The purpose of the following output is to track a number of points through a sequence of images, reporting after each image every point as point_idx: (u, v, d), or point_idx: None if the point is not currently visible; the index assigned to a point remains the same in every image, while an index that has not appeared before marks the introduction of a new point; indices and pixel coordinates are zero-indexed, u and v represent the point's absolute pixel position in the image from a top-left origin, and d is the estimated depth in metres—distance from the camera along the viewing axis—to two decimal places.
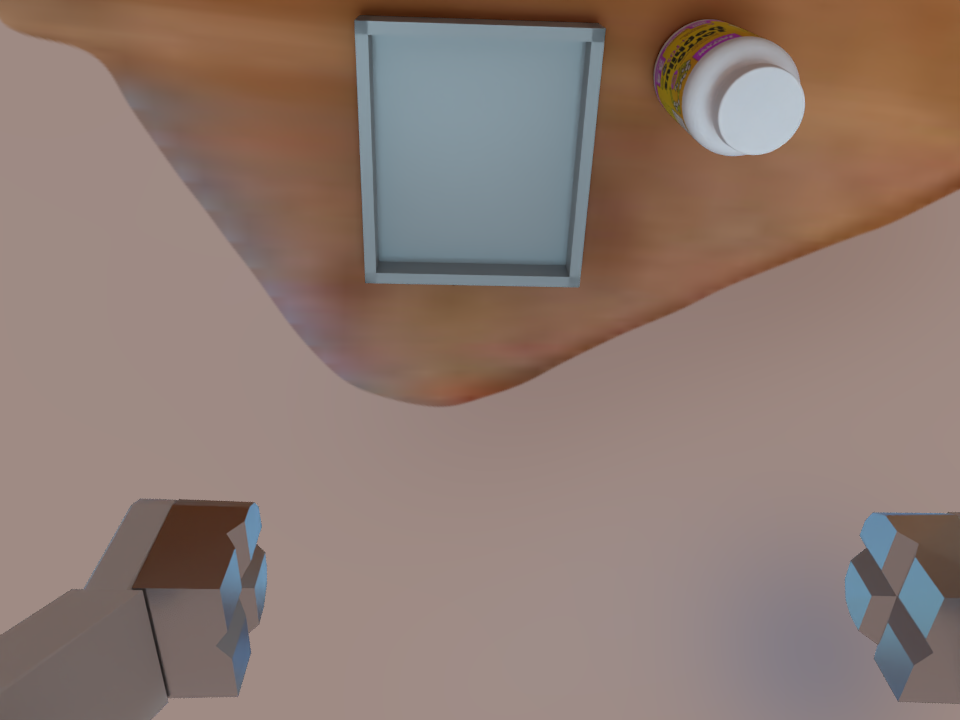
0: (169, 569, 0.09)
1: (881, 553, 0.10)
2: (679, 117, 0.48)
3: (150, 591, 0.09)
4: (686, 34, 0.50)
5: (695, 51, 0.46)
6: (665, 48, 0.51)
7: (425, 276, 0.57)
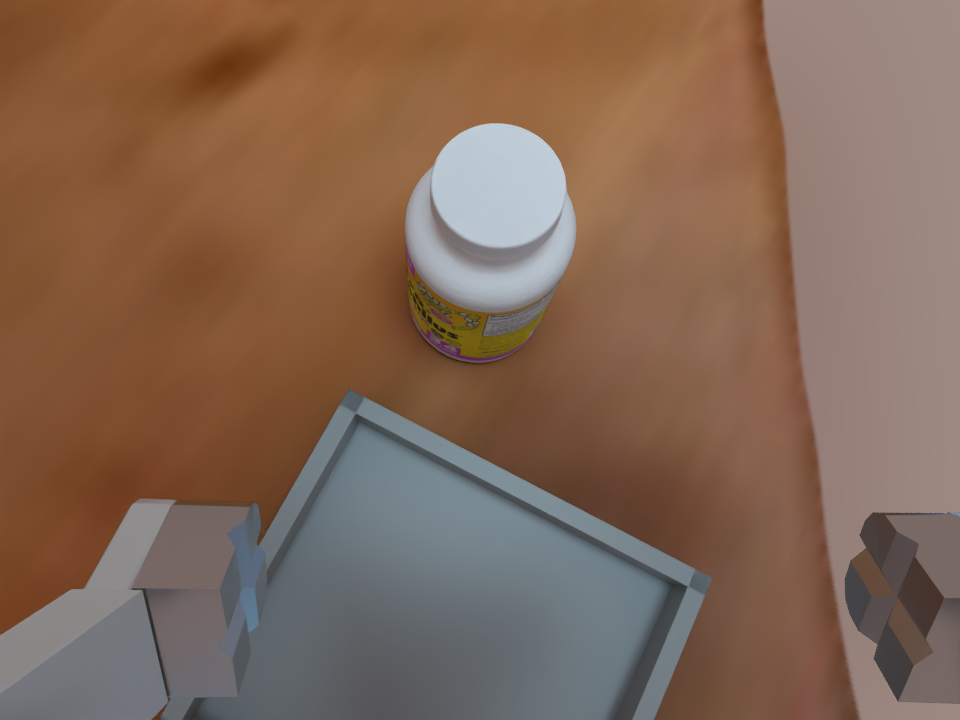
0: (169, 569, 0.09)
1: (881, 553, 0.10)
2: (489, 322, 0.31)
3: (150, 591, 0.09)
4: None
5: (411, 274, 0.32)
6: (420, 329, 0.37)
7: None
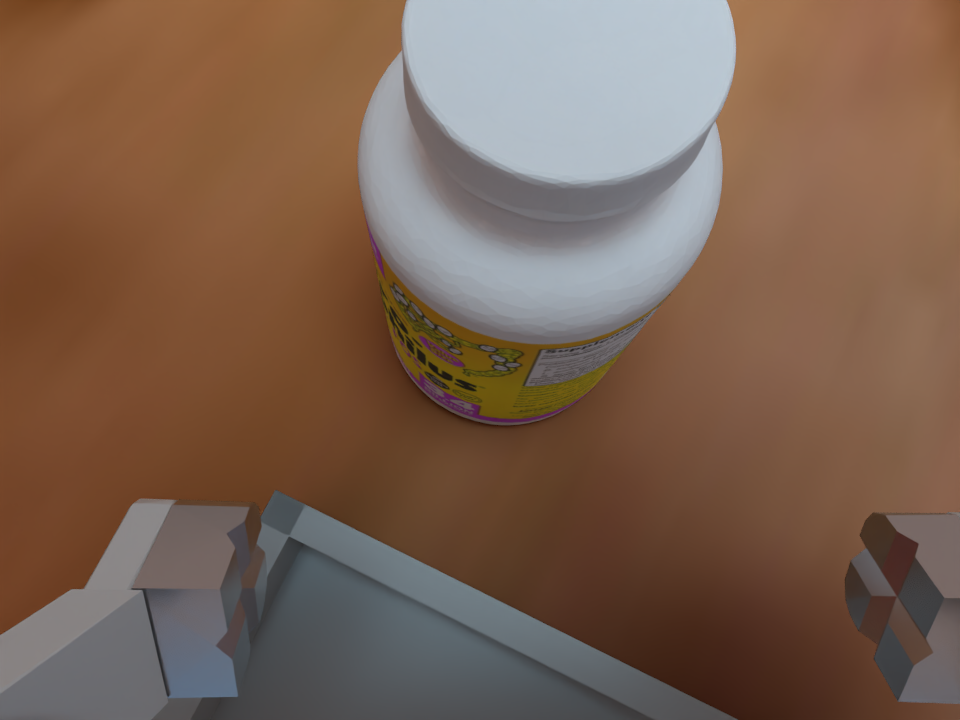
0: (169, 569, 0.09)
1: (881, 553, 0.10)
2: (540, 363, 0.15)
3: (150, 591, 0.09)
4: None
5: (379, 270, 0.16)
6: (408, 370, 0.21)
7: None
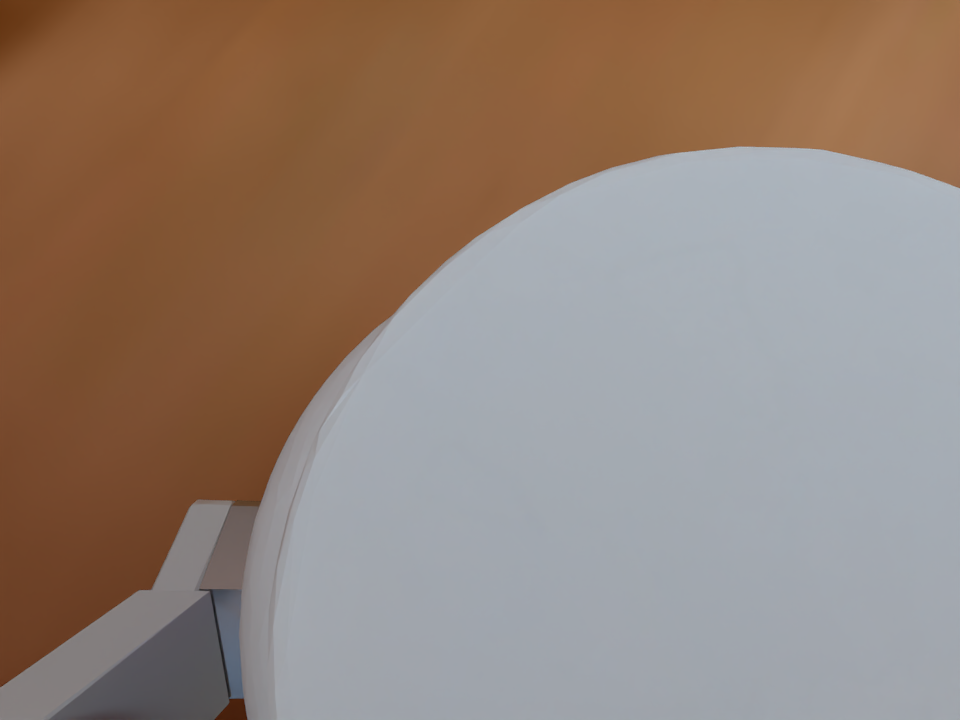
0: (234, 570, 0.09)
1: None
2: None
3: (217, 592, 0.09)
4: None
5: None
6: None
7: None
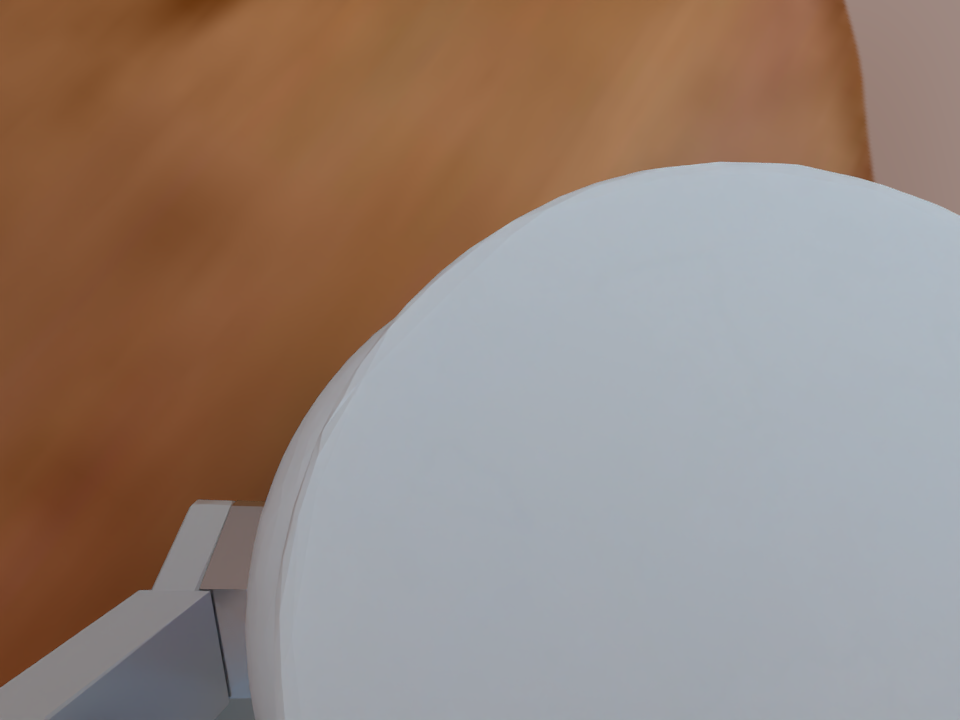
0: (234, 570, 0.09)
1: None
2: None
3: (217, 592, 0.09)
4: None
5: None
6: None
7: None
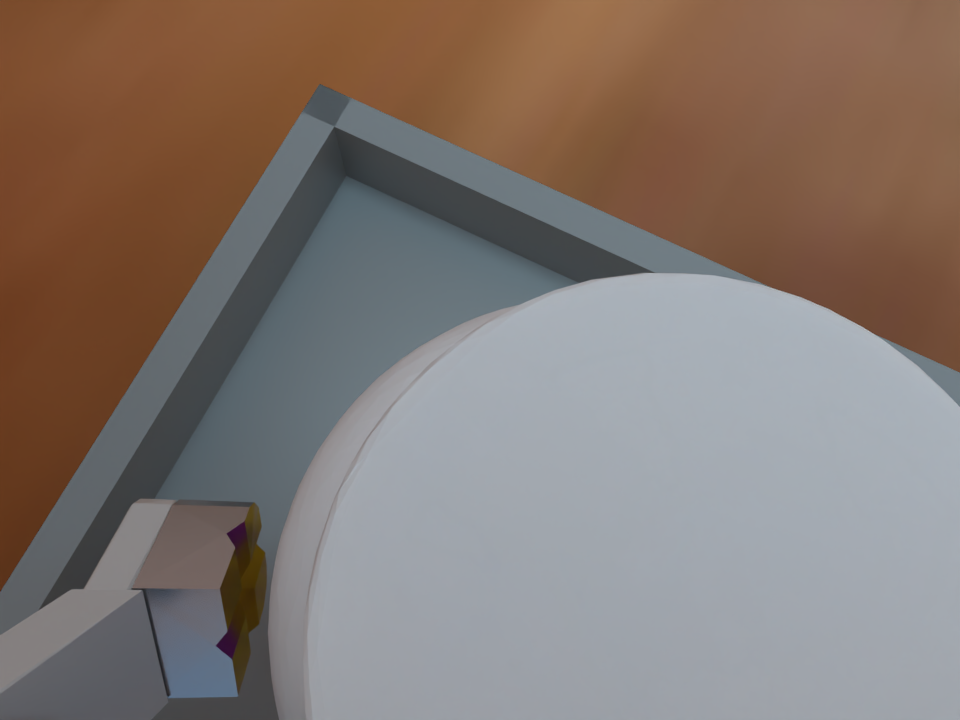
0: (169, 569, 0.09)
1: None
2: None
3: (150, 591, 0.09)
4: None
5: None
6: None
7: None
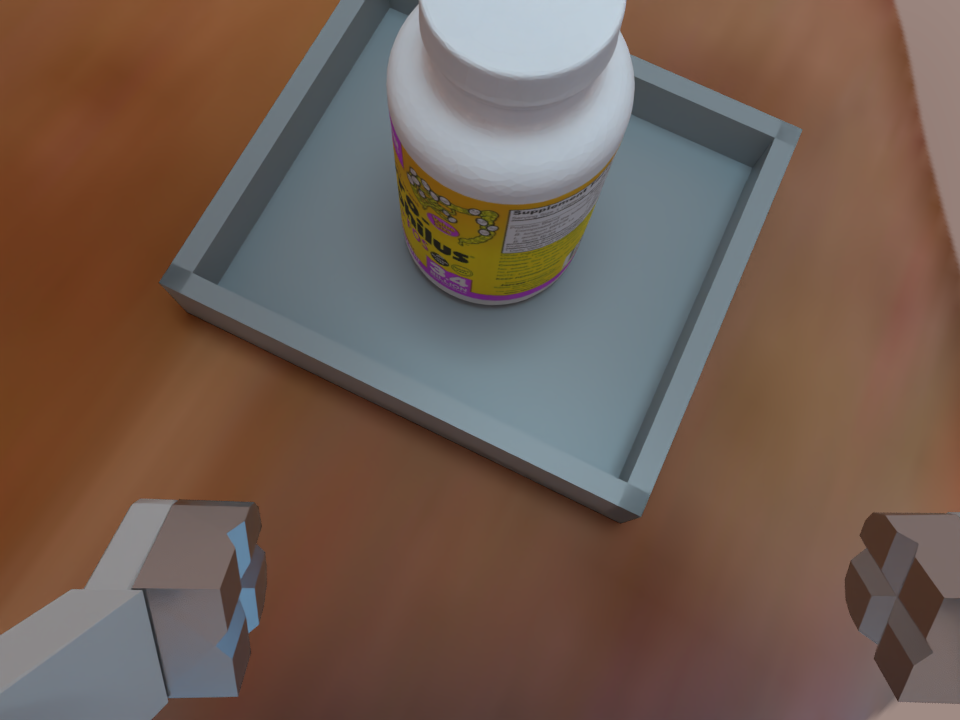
0: (169, 569, 0.09)
1: (881, 553, 0.10)
2: (511, 226, 0.22)
3: (150, 591, 0.09)
4: None
5: (399, 164, 0.23)
6: (418, 259, 0.28)
7: (674, 388, 0.26)
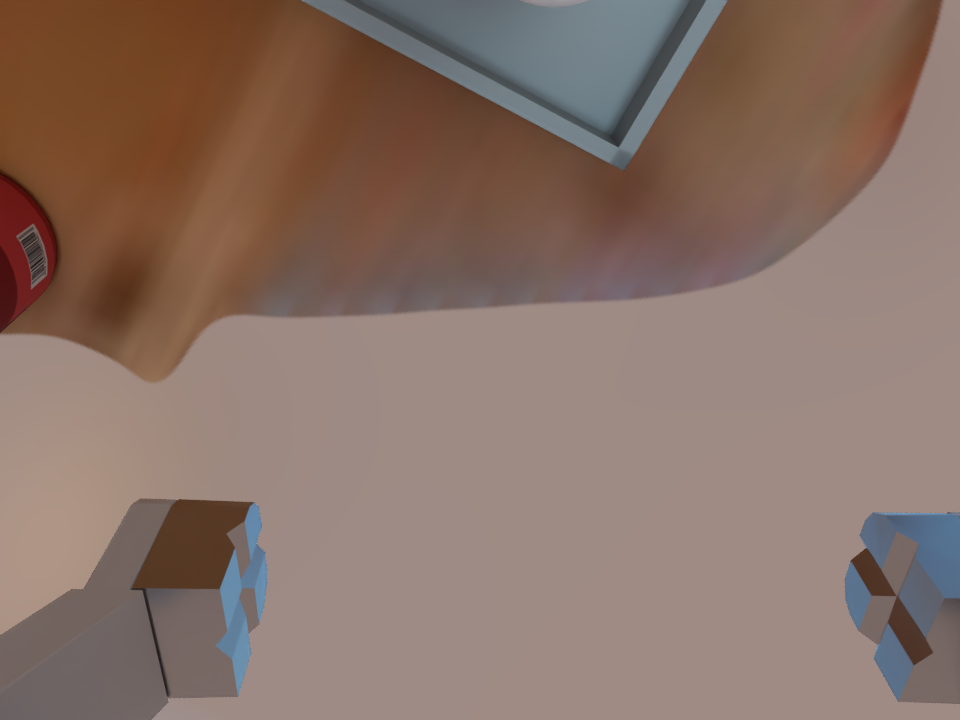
0: (169, 569, 0.09)
1: (881, 553, 0.10)
2: None
3: (150, 591, 0.09)
4: None
5: None
6: None
7: (665, 77, 0.35)
